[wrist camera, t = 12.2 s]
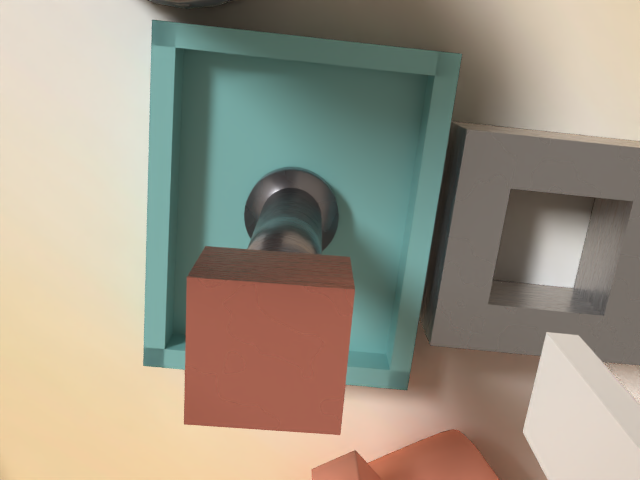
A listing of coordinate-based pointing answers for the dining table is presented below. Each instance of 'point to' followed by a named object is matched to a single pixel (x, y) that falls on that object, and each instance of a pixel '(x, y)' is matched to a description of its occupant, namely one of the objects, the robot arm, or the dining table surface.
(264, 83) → the tray
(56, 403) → the dining table surface
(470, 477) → the teapot
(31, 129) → the dining table surface
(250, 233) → the rod with pink block
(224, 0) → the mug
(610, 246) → the eye block
